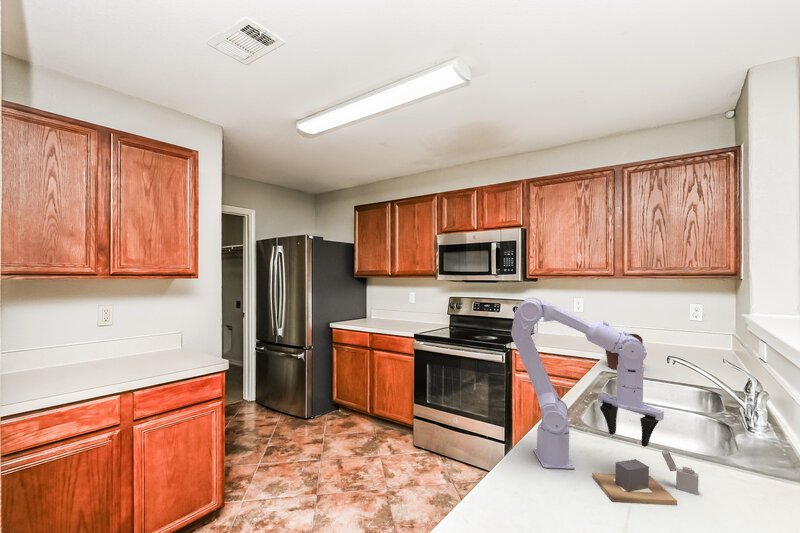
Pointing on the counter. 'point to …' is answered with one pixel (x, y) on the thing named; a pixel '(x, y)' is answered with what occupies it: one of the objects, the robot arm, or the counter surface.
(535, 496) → the counter surface
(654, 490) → the board
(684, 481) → the lighter
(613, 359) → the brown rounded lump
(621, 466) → the block
